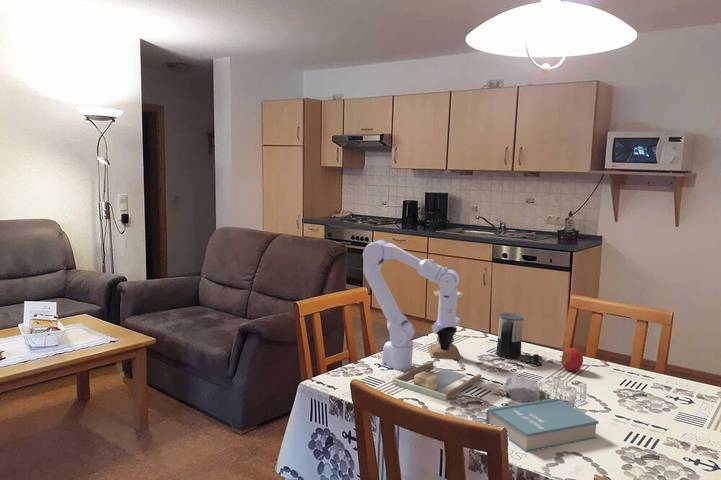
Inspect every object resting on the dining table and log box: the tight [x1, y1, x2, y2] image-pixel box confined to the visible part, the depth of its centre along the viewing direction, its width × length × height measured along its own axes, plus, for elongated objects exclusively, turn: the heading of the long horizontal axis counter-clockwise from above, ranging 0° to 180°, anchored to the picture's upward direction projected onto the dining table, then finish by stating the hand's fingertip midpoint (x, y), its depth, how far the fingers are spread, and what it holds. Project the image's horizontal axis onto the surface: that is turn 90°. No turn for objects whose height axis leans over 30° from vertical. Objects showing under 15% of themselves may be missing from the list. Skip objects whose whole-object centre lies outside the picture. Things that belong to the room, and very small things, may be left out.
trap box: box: [392, 360, 482, 402], centre depth 174 cm, size 18×23×3 cm
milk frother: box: [495, 312, 543, 363], centre depth 204 cm, size 14×16×15 cm
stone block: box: [504, 376, 541, 402], centre depth 172 cm, size 12×5×10 cm
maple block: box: [413, 370, 438, 390], centre depth 168 cm, size 5×5×4 cm
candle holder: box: [427, 289, 464, 360], centre depth 200 cm, size 11×11×24 cm
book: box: [485, 398, 599, 453], centre depth 147 cm, size 23×16×5 cm
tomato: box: [559, 347, 584, 372], centre depth 194 cm, size 8×8×8 cm
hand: (444, 349), depth 181 cm, fingers closed
